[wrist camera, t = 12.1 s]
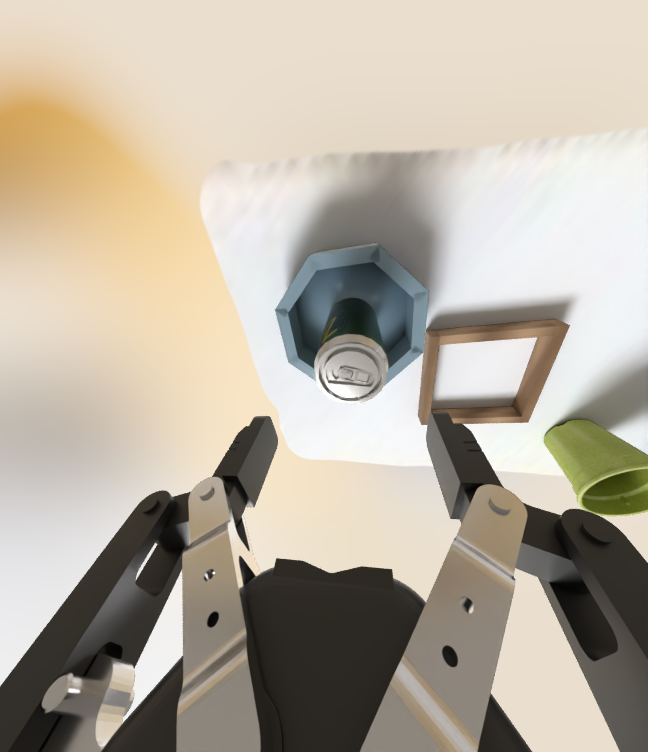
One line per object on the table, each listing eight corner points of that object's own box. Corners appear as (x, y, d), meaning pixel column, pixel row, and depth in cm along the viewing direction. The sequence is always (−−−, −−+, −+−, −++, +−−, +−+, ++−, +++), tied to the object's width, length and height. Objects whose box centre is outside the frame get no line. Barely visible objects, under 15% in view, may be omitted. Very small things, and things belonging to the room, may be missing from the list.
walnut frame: (555, 319, 24) (569, 325, 23) (518, 412, 31) (528, 422, 29) (425, 330, 26) (430, 337, 25) (417, 415, 33) (421, 424, 31)
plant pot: (629, 409, 29) (722, 469, 22) (589, 458, 34) (653, 520, 27) (546, 407, 30) (608, 464, 23) (519, 455, 35) (563, 513, 28)
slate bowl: (420, 235, 22) (434, 236, 18) (411, 366, 29) (420, 386, 25) (277, 258, 24) (262, 262, 20) (303, 373, 32) (296, 392, 28)
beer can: (382, 301, 24) (402, 349, 14) (368, 346, 27) (376, 412, 17) (333, 291, 24) (318, 331, 14) (324, 337, 27) (307, 397, 17)
